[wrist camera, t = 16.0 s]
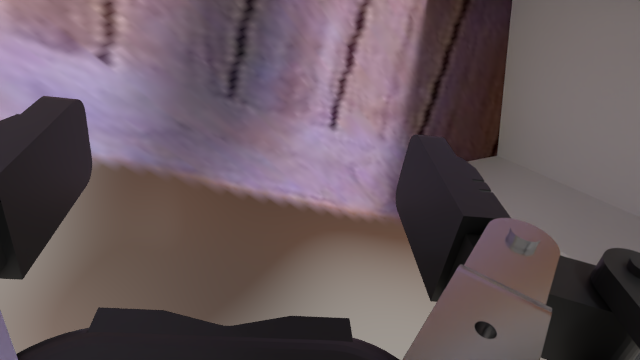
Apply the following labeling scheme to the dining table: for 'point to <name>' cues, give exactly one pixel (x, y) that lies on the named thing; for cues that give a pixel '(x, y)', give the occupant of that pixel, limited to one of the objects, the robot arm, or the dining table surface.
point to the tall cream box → (571, 124)
